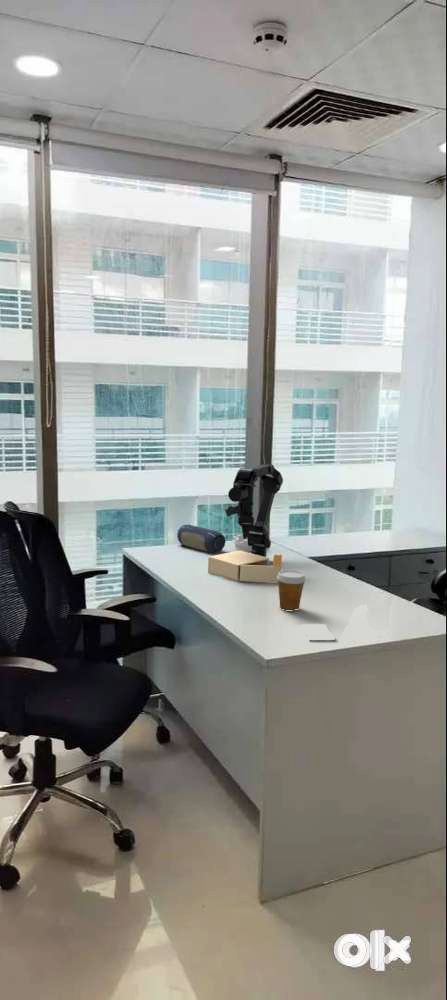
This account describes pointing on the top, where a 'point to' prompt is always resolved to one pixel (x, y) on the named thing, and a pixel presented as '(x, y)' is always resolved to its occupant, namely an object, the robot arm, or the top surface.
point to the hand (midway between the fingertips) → (244, 536)
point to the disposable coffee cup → (290, 589)
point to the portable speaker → (201, 538)
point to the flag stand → (241, 544)
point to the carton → (233, 563)
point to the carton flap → (261, 571)
